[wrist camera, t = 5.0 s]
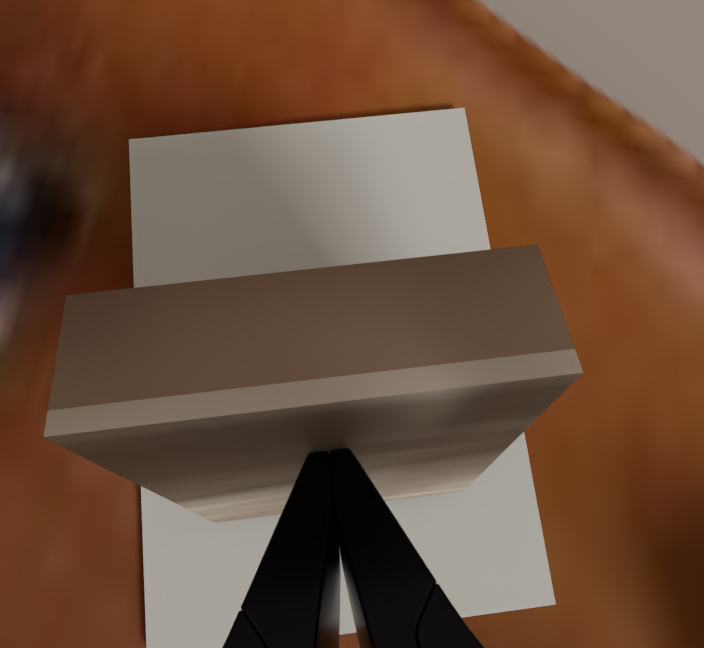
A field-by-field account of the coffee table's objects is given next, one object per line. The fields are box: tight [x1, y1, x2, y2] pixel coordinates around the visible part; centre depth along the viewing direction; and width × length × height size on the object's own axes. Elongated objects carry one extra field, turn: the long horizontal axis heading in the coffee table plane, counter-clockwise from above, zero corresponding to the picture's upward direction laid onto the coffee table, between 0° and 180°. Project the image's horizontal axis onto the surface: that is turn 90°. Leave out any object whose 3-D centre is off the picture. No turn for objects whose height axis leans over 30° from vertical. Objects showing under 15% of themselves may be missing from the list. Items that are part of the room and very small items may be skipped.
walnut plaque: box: [44, 244, 583, 523], centre depth 13 cm, size 2×8×10 cm, turn 97°
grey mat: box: [129, 108, 556, 648], centre depth 18 cm, size 18×13×1 cm
